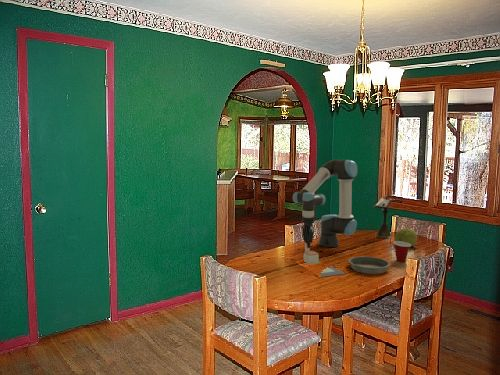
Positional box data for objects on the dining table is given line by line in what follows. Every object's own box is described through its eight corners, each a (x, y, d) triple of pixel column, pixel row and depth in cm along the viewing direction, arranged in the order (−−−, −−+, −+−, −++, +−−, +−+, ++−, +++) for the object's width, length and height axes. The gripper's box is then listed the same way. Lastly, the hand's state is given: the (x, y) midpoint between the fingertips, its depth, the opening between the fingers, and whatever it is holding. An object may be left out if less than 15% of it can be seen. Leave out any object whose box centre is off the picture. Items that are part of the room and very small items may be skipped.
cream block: (303, 262, 273) (303, 251, 272) (312, 261, 276) (313, 250, 275) (308, 265, 267) (309, 254, 266) (318, 264, 269) (318, 253, 268)
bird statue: (383, 240, 333) (385, 196, 328) (370, 237, 343) (371, 194, 339) (396, 237, 342) (398, 194, 338) (382, 234, 353) (384, 192, 349)
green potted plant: (391, 247, 313) (390, 227, 318) (401, 251, 321) (400, 231, 327) (412, 244, 301) (410, 223, 307) (421, 248, 310) (420, 228, 316)
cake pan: (396, 268, 262) (397, 261, 262) (376, 278, 245) (376, 270, 245) (362, 260, 280) (362, 253, 279) (340, 268, 263) (340, 261, 263)
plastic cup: (408, 264, 271) (409, 246, 270) (391, 261, 277) (391, 243, 275) (411, 259, 280) (412, 242, 279) (394, 257, 286) (395, 240, 284)
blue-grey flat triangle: (291, 261, 276) (291, 260, 276) (315, 258, 283) (315, 258, 283) (319, 277, 245) (319, 277, 245) (345, 274, 252) (345, 273, 251)
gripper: (298, 215, 276) (297, 250, 279) (308, 218, 264) (307, 255, 267) (308, 214, 279) (307, 249, 282) (318, 218, 267) (317, 254, 270)
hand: (307, 252), depth 274 cm, fingers closed
